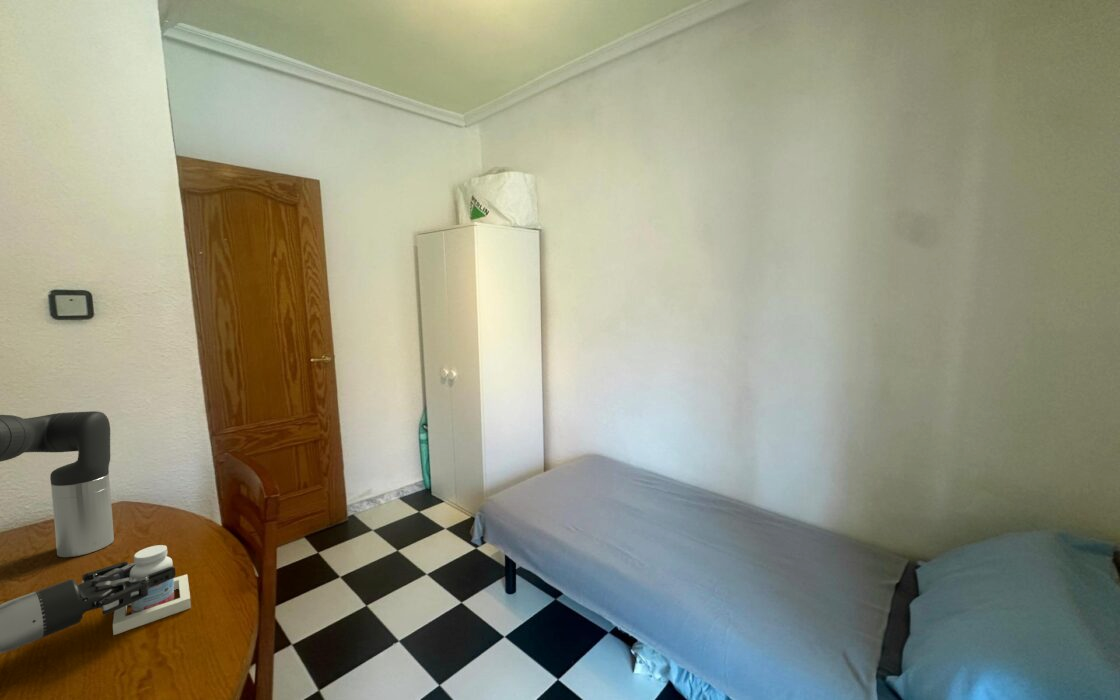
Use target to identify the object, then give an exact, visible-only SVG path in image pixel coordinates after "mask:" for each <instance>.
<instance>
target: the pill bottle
mask: <svg viewBox="0 0 1120 700" xmlns="http://www.w3.org/2000/svg"><path fill="white" fill-rule="evenodd" d="M133 563H135V564H136V565H135V566H133V568H132V569H131V571H130V577H131V578H132V579H136V578H140V577H144V576H148V575H150V574H152V573H155V572H158V571H160V570H163V569H166V568H168V567H171V566H173V567H174V564H173V563H174V562H173V559H172V558H171V557H170V556H168V547H167V545H165V544H164V545H163V544H159V545H158V544H157V545H151V546H148V547H145V548H143V549H141V550H139V551H137V552H135V554H134V555H133ZM137 584H138V583H137ZM134 585H136V584H133V585H132V586H134ZM135 595H137V594H134V595H132V596H131V597H133V596H135ZM173 600H175V591H174V580H173V579H170V580H168V581H165V582H163V583H160V584H158V585H155V586H153V587H150V589H149V590H148V595H147V596H146V597H144V598H141V599H139V600H137V601H135V602H133V603H131V605H130V610H131V611H130V612H131V614H134V613H137V612H140V611H143V610H146V609H149V608H152V607H155V606H158V605H161V604H164V603H167V602H170V601H173Z"/></svg>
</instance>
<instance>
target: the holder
mask: <svg viewBox="0 0 1120 700" xmlns="http://www.w3.org/2000/svg"><path fill="white" fill-rule="evenodd" d="M188 577H189V576H188V574H187V573H186V574H184V575H180V576H177V577H176V576H175V577H174V578H173V580H174V590H175V591H177V590H176V589H178V590H179V597H178V598H175V599H174V600H173V601H170V602H167V603H164V604H161V605H158V606H155V607H152V608H149V609H146V610H143V611H140V612H137V613H134V614H132V613H131V614H128V615H127V609H128V606H131V604H128V605H126V606H124V607H122V608H120V609H117V610H115V611H113V618H112V633H113V634H112V635H113V636H115V635H118V634H121V633H124V632H126V631H130V630H132V629H135V628H138V627H141V626H143V625H147V624H150V623H153V622H155V621H158V620H160V619H163V618H166V617H169V616H172V615H175V614H178V613H180V612H183V611H186V610H189V609H192V605H191V604H192V603H191V593H190V585H189V578H188Z"/></svg>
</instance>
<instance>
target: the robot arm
mask: <svg viewBox="0 0 1120 700" xmlns="http://www.w3.org/2000/svg"><path fill="white" fill-rule="evenodd" d="M68 452H69V453H71V452H78V454H77V459H76V461H74V462H71V463H68V464H66V465H65V464H64V465H63V466H60V467H58V468H56V469H54V470H52V471H51V473H50V477H49V478H50V480H49V481H50V487H51V497H52V498H51V499H52V509H53V510H52V511H53V521H54V534H55V546H56V547H55V548H56V555H57V557H60V558H72V557H79V556H84V555H87V554H91V553H93V552H96V551H99V550H102V549H103V548H106V547H108V546H109V545H110V544H112V543H113V542H114V541H115V536H114V522H113V508H112V498H111V497H112V495H111V487H110V486H111V484H110V473H109V472H110V470H109V468H110V462H111V425H110V420H109V418H108V417H107V415H106V414H105V413H104V412H101V411H97V410H96V411H95V410H93V411H90V410H89V411H74V412H73V411H72V412H69V411H68V412H58V413H51V414H45V415H39V416H33V417H27V418H23V417H21V416H17V415H13V414H0V462H5V461H9V460H12V459H15V458H17V457H19V456H21V455H22V454H24V453H68ZM135 565H136V564H135V563H134V562H132V563H128V561H121V562H120V563H116V564H113V565H109V566H106V567H103V568H100V569H96V570H94V571H90V572H88V573H84V574H83V575H81V580H82V581H81V584H78V583H77V581H76V580H75V579H68V580H67V579H66V580H65V581H62V582H59V583H56V584H53V585H50V586H48V587H45V588H42V589H38V590H36V591H33V592H30V593H28V594H24V595H22V596H19V597H16V598H13V599H11V600H7V601H5V602H3V603H1V604H0V654H3V653H7V652H10V651H13V650H16V649H19V648H22V647H23V646H26V645H28V644H31V643H33V642H36V641H39V640H40V639H43V638H45V637H47V636H50V635H53V634H56V633H57V632H60V631H62V630H65V629H67V628H70V627H73V626H75V625H77V624H79V623H80V622H81V621H82V619H83V615H84V614H85V613H86V612H90V611H93V610H96V609H101V611H102V615H105V616H106V615H108V614H112V613H114V611H115V610H117V609H120V608H122V607H124V606H126V605H128V604H131V603H133V602H135V601H137V600H139V599H141V598H144V597H146V596H147V595H148V590H149V589H150V587H153V586H155V585H158V584H160V583H163V582H165V581H168V580H170V579H173V578H176V568H175V566H174V565H173V566H171V567H168V568H166V569H163V570H160V571H158V572H155V573H152V574H150V575H148V576H144V577H140V578H136V579H132V578H131V577H130V571H131V569H132V568H133V566H135ZM137 583H138V584H137ZM133 584H136V585H134V586H132V585H133ZM124 587H125V589H124ZM134 594H137V595H135V596H133V597H131V596H132V595H134Z"/></svg>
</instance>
